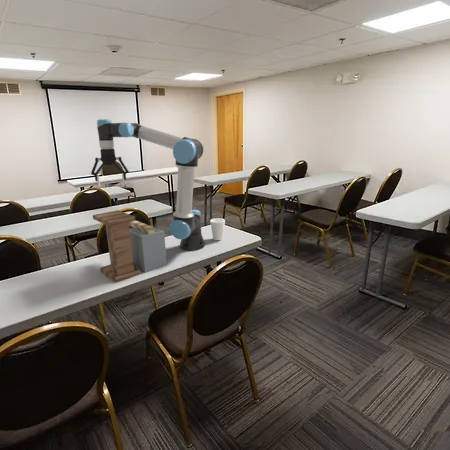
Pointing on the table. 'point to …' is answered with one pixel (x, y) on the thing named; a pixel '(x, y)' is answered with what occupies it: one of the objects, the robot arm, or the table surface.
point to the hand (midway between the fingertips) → (111, 186)
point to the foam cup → (217, 228)
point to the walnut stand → (118, 245)
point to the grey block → (148, 249)
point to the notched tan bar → (142, 227)
